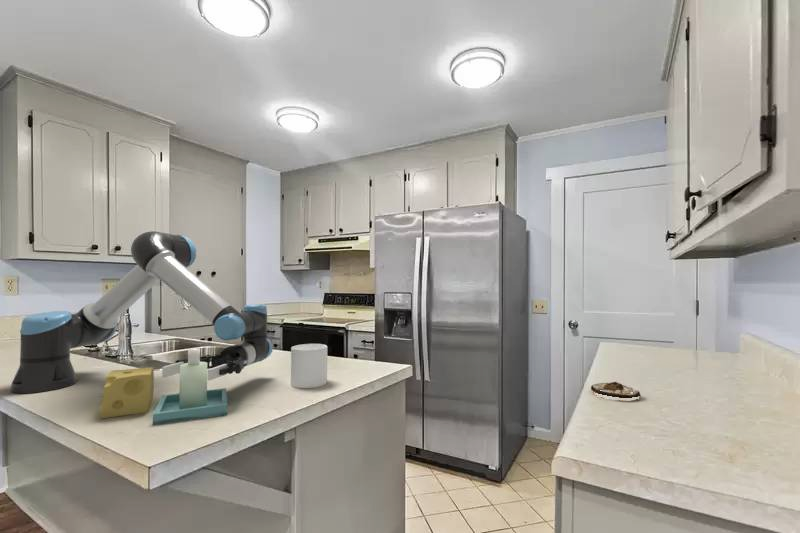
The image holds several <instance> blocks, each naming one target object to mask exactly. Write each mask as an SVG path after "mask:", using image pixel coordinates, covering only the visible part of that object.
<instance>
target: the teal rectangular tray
mask: <svg viewBox="0 0 800 533" xmlns="http://www.w3.org/2000/svg"><path fill="white" fill-rule="evenodd" d="M227 392H228V391H227V387H224V388H223V387H222V388H217V389H214V388H213V389H207V405H206V406H202V407H194V408H187V409H179V393H171V394H163V395H161V397H160V399H159V402H158V403H157V405H156V407H155V409H154V411H153V413H152V426H155V425H163V424H171V423H179V422H184V421H191V420H190V419H192V420H198V418H200V419H205V418H206V419H207V418H212V417H213V418H214V417H219V416H220V417H221V416H228V393H227ZM170 422H171V423H170Z"/></svg>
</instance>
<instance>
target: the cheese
mask: <svg viewBox="0 0 800 533" xmlns="http://www.w3.org/2000/svg"><path fill="white" fill-rule="evenodd" d="M154 369H155V368H154V367H153V366H152V367H151V366H149V367H138V368H129V369H128V368H127V369H115V370H110V372H108V374H106V375H105V384H104V386H103V388H102V393H101V397H102V403H101V405H100V410H99V412H100V413H99V415H100V418H101V419H102V418H103V419H109V418H114V417H122V416H129V415H130V414H131V415H138V413H140V414H147V413H149V410H150V408H151V406H152V404H153V402H152V401H154V383H155V382H154V380H155V379H154V378H155V373H154ZM146 412H147V413H146Z"/></svg>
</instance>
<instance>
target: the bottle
mask: <svg viewBox="0 0 800 533" xmlns="http://www.w3.org/2000/svg"><path fill="white" fill-rule="evenodd" d="M200 357H201V348H199V347H196V348H188V349H187V359H188V363H185V364H181V365H180V373H179V393H178V394H179V409H187V408H194V407H202V406H206V405H207V390H208V369H207V362H200Z"/></svg>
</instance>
